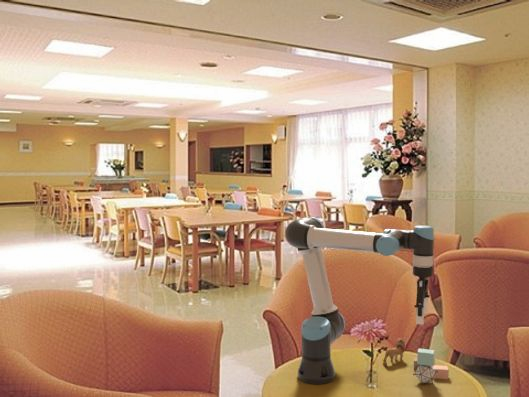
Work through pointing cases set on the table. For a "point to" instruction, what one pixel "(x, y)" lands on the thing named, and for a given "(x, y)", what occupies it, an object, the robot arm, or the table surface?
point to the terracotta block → (441, 372)
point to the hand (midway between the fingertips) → (421, 318)
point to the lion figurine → (395, 351)
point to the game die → (425, 373)
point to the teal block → (425, 357)
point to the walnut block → (417, 364)
